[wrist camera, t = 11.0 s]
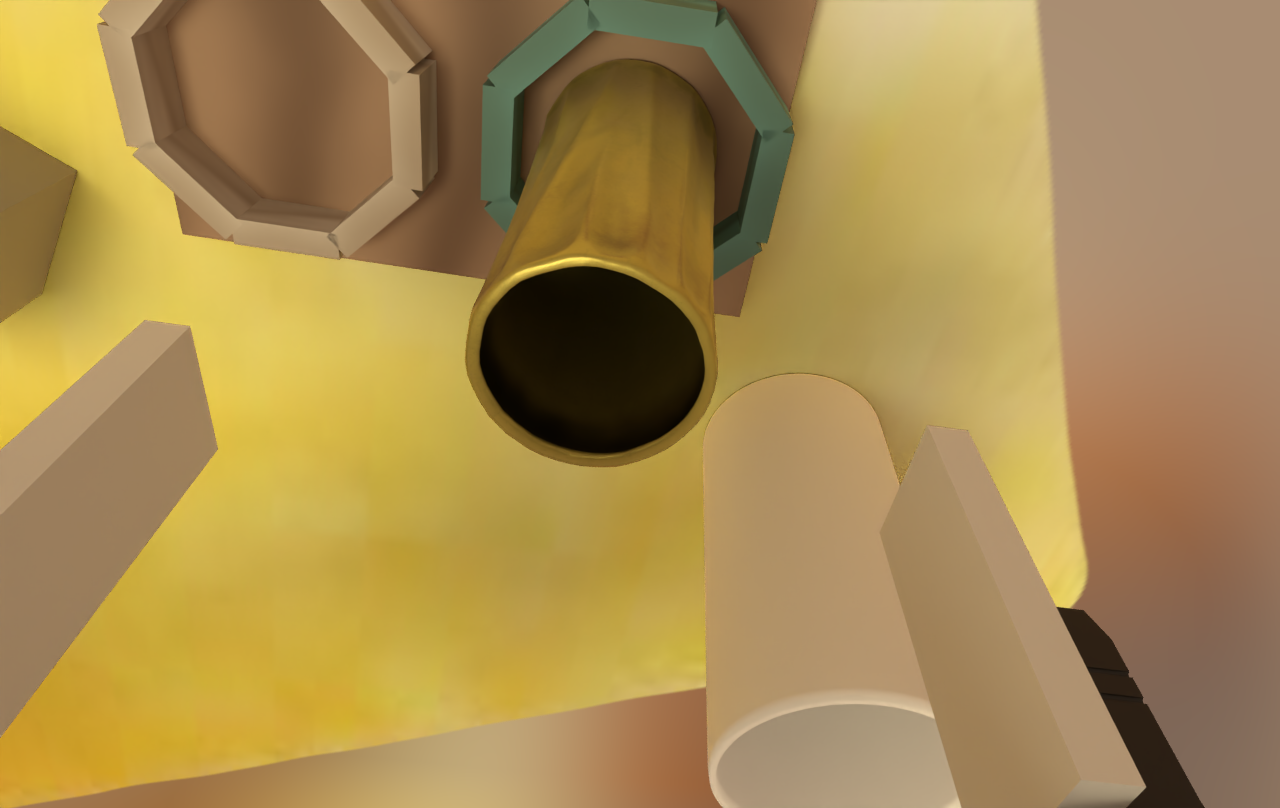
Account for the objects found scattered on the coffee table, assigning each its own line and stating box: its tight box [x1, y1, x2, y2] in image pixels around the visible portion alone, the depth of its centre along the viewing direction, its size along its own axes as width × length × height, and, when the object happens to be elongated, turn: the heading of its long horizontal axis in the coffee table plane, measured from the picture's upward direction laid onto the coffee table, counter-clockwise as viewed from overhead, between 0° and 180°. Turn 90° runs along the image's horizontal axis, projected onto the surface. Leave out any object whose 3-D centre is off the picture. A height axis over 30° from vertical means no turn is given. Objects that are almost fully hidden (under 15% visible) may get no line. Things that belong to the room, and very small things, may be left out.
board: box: [97, 0, 817, 317], centre depth 27 cm, size 22×12×3 cm, turn 82°
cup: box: [703, 374, 961, 808], centre depth 30 cm, size 8×8×16 cm
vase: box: [465, 59, 718, 467], centre depth 22 cm, size 6×6×14 cm
